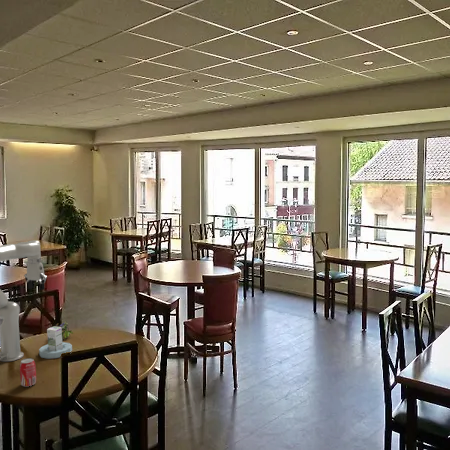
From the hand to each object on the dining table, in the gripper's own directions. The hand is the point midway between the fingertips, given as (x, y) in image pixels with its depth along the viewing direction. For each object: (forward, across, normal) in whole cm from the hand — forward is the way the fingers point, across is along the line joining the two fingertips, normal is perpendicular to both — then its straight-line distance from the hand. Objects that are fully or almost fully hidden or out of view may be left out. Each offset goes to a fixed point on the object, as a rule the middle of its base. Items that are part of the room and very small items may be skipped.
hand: (36, 289), depth 287 cm
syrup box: (+32, -24, +11) cm, 42 cm away
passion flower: (+33, -9, -11) cm, 36 cm away
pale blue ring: (+32, -24, +11) cm, 42 cm away
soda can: (+32, -43, +48) cm, 72 cm away
